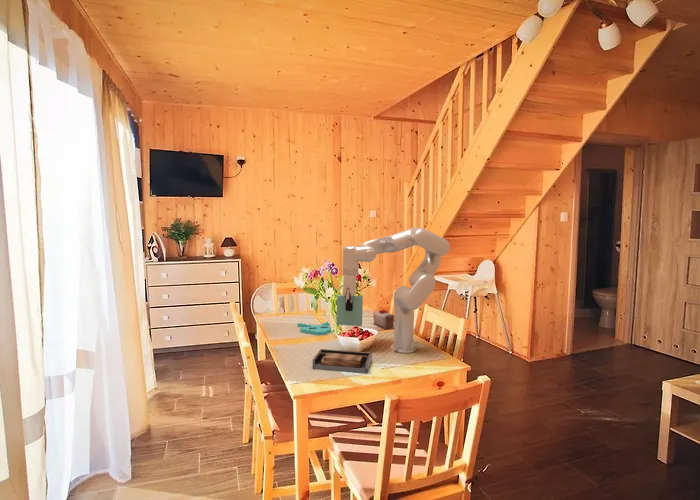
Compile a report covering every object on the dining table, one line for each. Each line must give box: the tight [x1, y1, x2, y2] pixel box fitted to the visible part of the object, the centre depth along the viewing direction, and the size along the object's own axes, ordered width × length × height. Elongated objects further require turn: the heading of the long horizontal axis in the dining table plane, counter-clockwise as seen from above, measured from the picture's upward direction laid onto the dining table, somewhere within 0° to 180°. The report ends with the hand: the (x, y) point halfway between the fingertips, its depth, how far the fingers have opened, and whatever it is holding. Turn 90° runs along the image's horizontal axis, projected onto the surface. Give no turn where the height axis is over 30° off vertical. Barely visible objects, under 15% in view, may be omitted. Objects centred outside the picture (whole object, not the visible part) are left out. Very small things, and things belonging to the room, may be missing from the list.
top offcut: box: [324, 353, 362, 364], centre depth 188 cm, size 16×6×2 cm, turn 77°
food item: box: [372, 309, 395, 330], centre depth 253 cm, size 14×8×10 cm, turn 33°
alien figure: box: [297, 320, 331, 336], centre depth 245 cm, size 20×2×20 cm
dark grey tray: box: [312, 348, 373, 374], centre depth 191 cm, size 24×14×5 cm, turn 79°
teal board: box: [336, 294, 364, 327], centre depth 205 cm, size 12×2×14 cm, turn 79°
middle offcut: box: [321, 356, 358, 367], centre depth 189 cm, size 16×6×2 cm, turn 82°
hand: (349, 309), depth 205 cm, fingers closed on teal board, 2 cm apart
